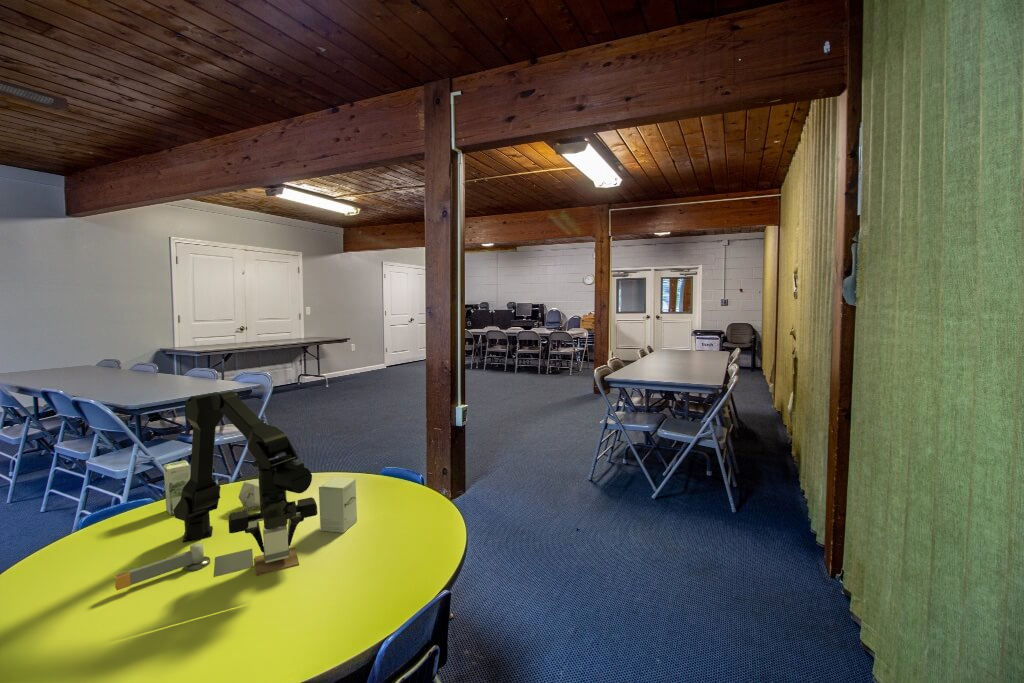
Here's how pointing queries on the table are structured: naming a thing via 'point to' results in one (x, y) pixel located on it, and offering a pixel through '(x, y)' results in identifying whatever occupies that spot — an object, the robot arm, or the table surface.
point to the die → (250, 495)
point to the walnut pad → (276, 563)
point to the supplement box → (337, 504)
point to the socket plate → (233, 562)
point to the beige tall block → (275, 544)
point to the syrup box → (175, 482)
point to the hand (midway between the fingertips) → (275, 548)
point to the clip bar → (160, 567)
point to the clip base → (198, 565)
